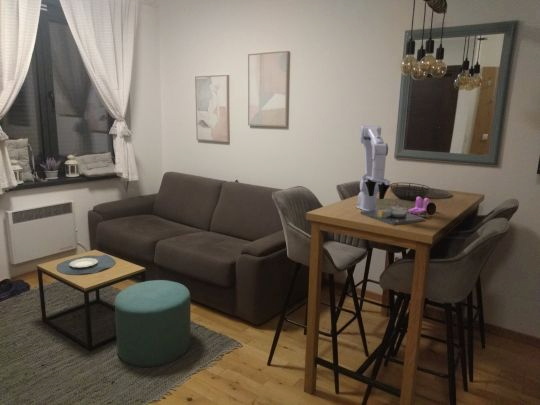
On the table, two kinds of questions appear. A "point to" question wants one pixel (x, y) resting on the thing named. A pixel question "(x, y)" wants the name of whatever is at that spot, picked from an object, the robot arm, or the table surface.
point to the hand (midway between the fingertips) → (376, 197)
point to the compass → (428, 211)
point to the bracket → (419, 206)
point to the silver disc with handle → (393, 212)
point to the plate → (390, 219)
